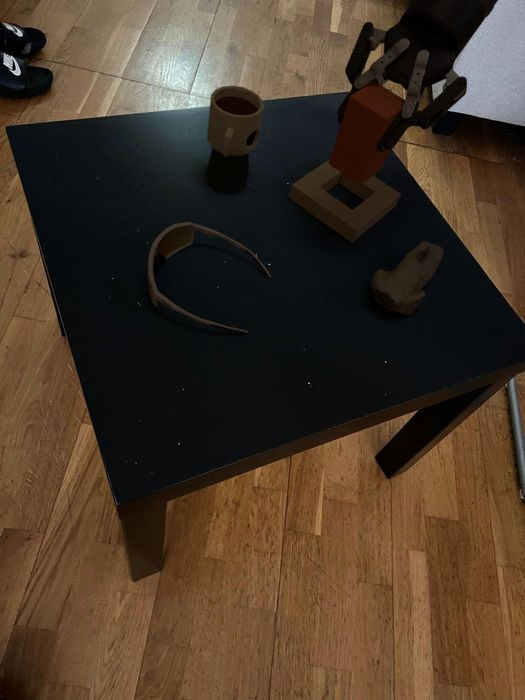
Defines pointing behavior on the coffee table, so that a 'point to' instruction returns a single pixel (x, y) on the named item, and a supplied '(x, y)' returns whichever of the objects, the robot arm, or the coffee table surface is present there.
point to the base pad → (332, 211)
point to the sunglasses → (174, 242)
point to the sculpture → (407, 279)
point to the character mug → (232, 135)
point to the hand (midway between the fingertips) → (360, 135)
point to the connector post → (365, 132)
